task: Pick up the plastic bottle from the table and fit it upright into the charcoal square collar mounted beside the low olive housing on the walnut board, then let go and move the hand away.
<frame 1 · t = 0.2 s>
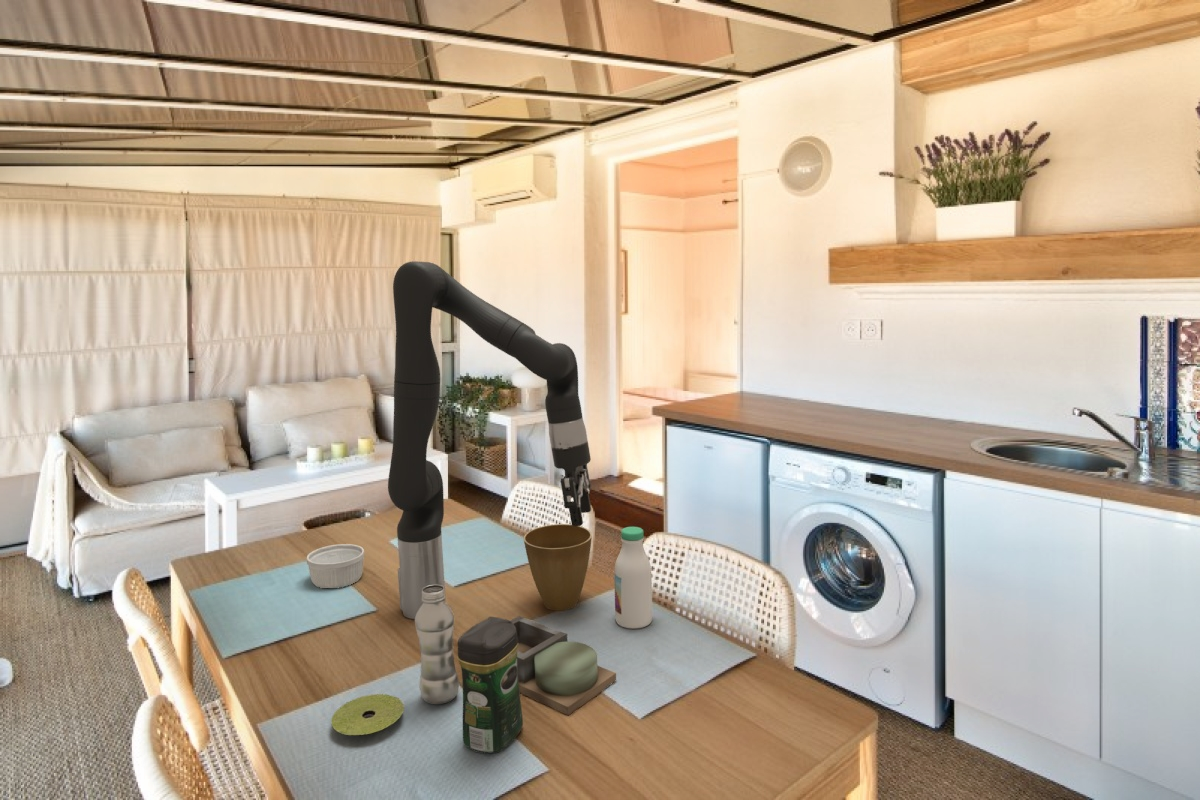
hand: (582, 518, 147), 22 cm above the table, tool pointing down, fingers open, 8 cm apart
green sanding disc: (369, 725, 117), on the table
coffee jar: (492, 738, 113), on the table
ramekin: (337, 581, 175), on the table
plastic bottle: (440, 699, 124), on the table
milk bottle: (633, 621, 151), on the table
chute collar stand: (522, 666, 134), on the table
plant pot: (560, 604, 160), on the table
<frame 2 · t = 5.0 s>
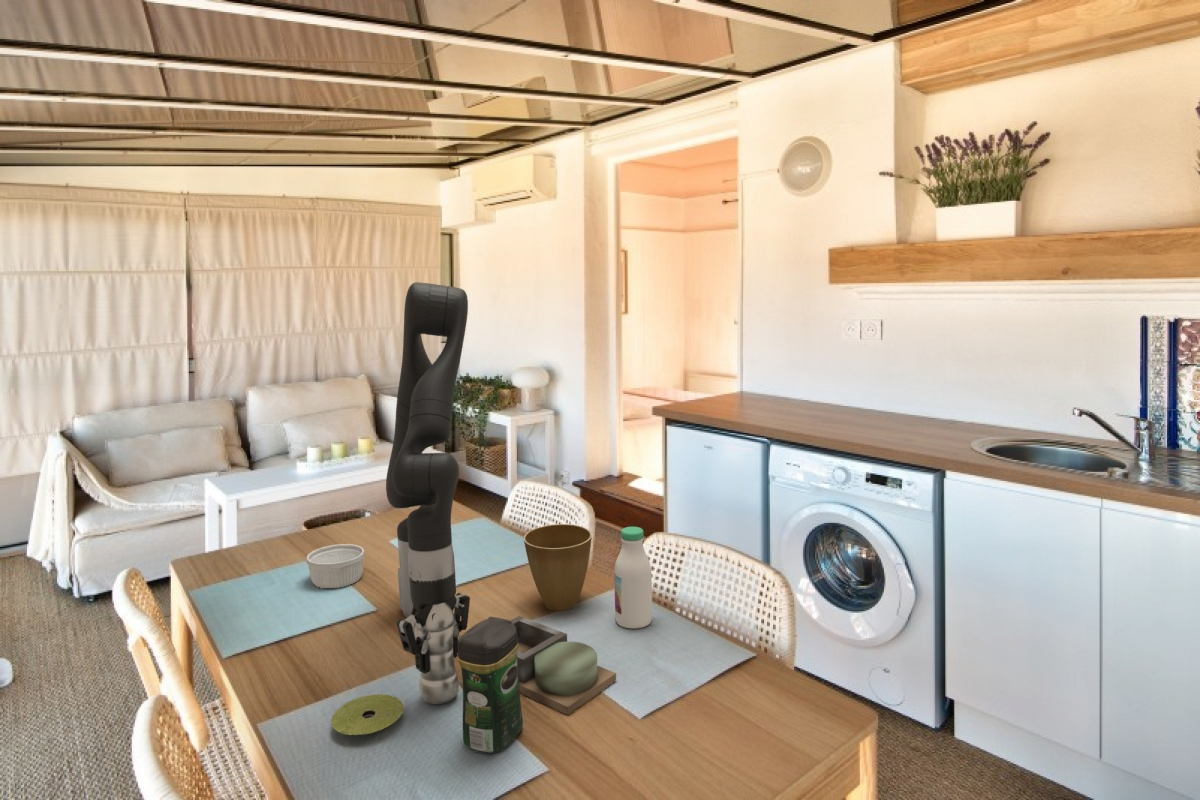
hand: (437, 663, 123), 6 cm above the table, tool pointing down, fingers closed on plastic bottle, 5 cm apart
plastic bottle: (440, 699, 124), on the table, touching gripper
everything else where it was.
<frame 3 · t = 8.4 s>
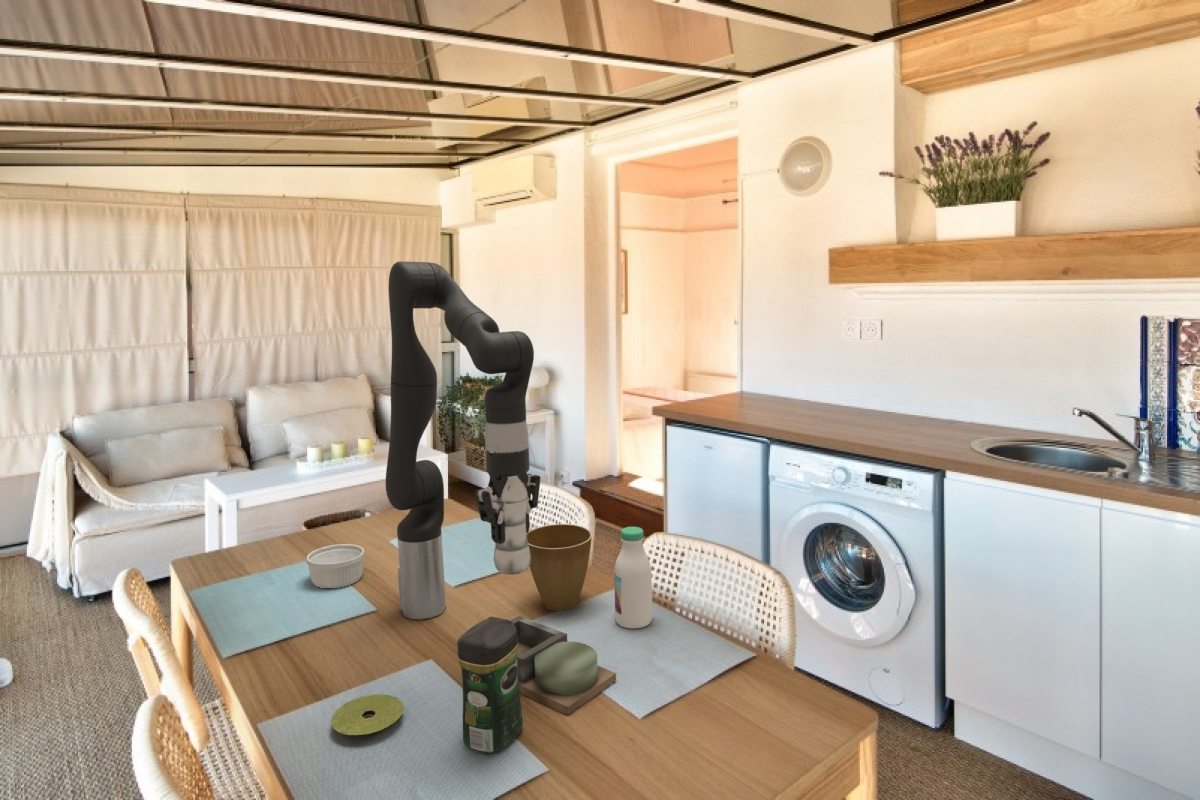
hand: (511, 537, 129), 25 cm above the table, tool pointing down, fingers closed on plastic bottle, 5 cm apart
plastic bottle: (512, 572, 130), point 19 cm above the table, touching gripper
everything else where it was.
when the fingers open (9 cm above the table, at t = 11.7 s): plastic bottle moves 1 cm, resting on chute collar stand.
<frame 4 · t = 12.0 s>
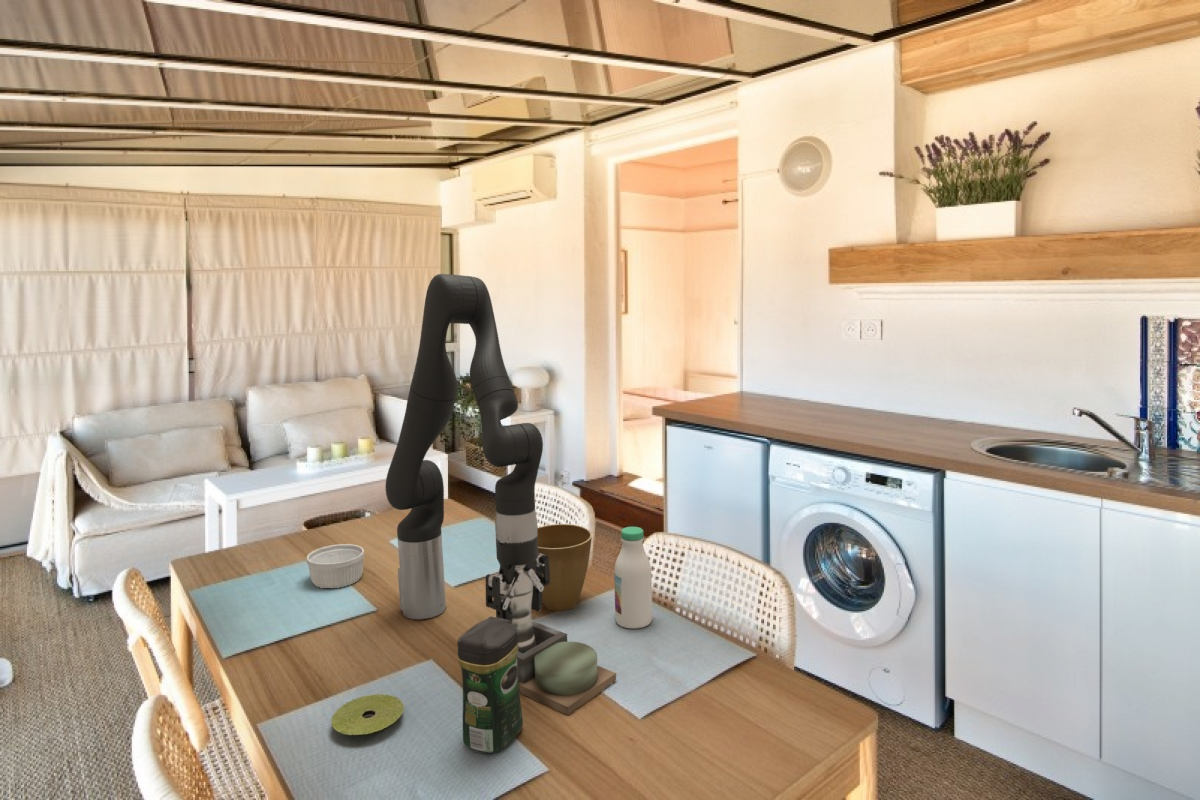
hand: (520, 618, 132), 10 cm above the table, tool pointing down, fingers open, 8 cm apart
plastic bottle: (518, 660, 133), point 1 cm above the table, touching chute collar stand
everything else where it was.
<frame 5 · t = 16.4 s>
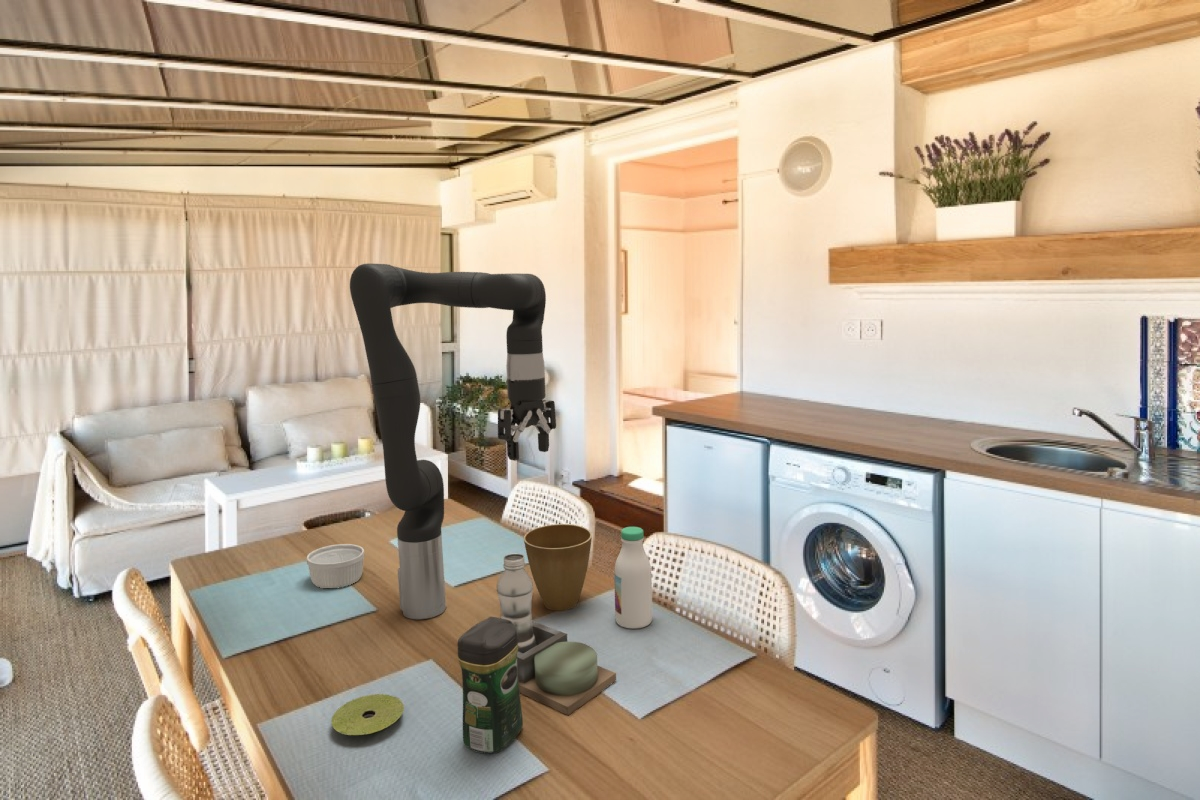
hand: (528, 455, 145), 36 cm above the table, tool pointing down, fingers open, 8 cm apart
nothing on the table moved.
at the end: plastic bottle 0.6 cm off-centre on the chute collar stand, point 1.3 cm above the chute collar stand's base; plastic bottle tilted 0°; the gripper is holding nothing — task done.
